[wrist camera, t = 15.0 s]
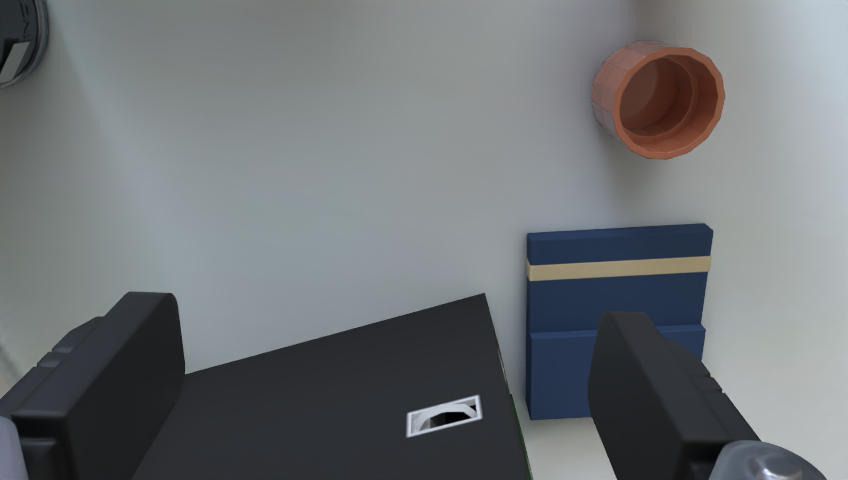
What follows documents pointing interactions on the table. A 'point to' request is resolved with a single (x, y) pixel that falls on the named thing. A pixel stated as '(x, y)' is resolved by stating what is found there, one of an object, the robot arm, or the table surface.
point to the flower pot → (658, 98)
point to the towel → (605, 301)
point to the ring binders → (353, 408)
